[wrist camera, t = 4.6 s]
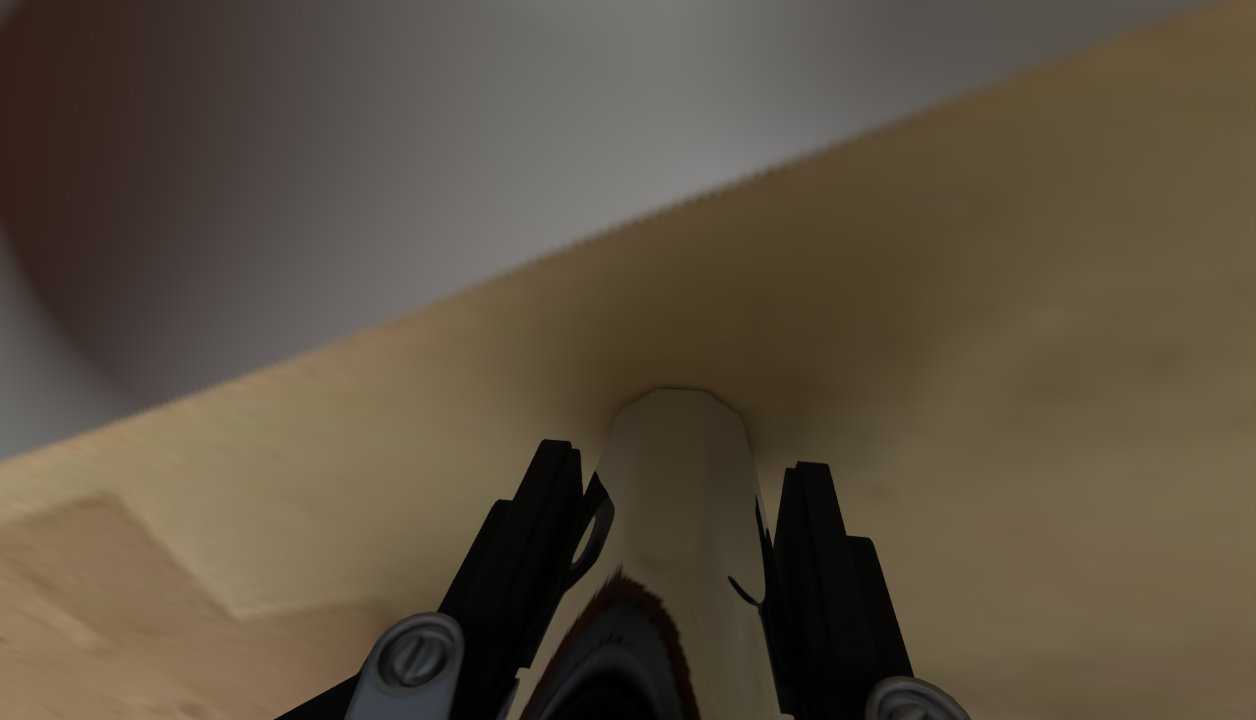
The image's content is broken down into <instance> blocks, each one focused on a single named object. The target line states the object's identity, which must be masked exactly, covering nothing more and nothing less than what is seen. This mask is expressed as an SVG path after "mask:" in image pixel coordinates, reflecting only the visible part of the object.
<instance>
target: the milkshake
mask: <svg viewBox="0 0 1256 720" xmlns="http://www.w3.org/2000/svg"><path fill="white" fill-rule="evenodd" d="M481 720H813V717H812V712H811V708H810V704H809V700H808V696H807V692H806V688H805V685H804V681H803V677H802V673H801V670H800V666H799V663H798V660H797V657H796V654H795V651H794V647H793V643H792V638H791V634H790V629H789V625H788V620H787V615H786V611H785V606H784V601H783V596H782V591H781V586H780V582H779V577H778V572H777V567H776V562H775V557H774V552H773V548H772V543H771V538H770V533H769V528H768V523H767V518H766V513H765V509H764V504H763V499H762V494H761V489H760V484H759V479H758V474H757V469H756V465H755V460H754V456H753V453H752V449H751V446H750V443H749V440H748V436H747V433H746V430H745V426H744V423H743V420H742V417H741V416H740V415H738V414H737V413H735V412H734V411H733V410H731V409H730V408H728V407H727V406H725V405H724V404H722V403H721V402H719V401H718V400H717V399H715V398H714V397H712V396H711V395H709V394H708V393H706V392H705V391H694V390H674V389H656V390H654V391H652V392H651V393H649V394H647V395H645V396H644V397H642V398H640V399H639V400H637V401H635V402H633V403H631V404H630V405H628V406H626V407H624V408H623V409H621V410H620V412H619V414H618V416H617V418H616V420H615V423H614V425H613V428H612V430H611V432H610V435H609V437H608V440H607V442H606V444H605V447H604V449H603V452H602V454H601V456H600V459H599V461H598V463H597V466H596V468H595V471H594V473H593V475H592V478H591V480H590V483H589V485H588V487H587V490H586V492H585V495H584V497H583V499H582V502H581V504H580V506H579V509H578V511H577V514H576V516H575V518H574V521H573V523H572V525H571V528H570V530H569V533H568V535H567V537H566V540H565V542H564V544H563V547H562V549H561V551H560V554H559V556H558V558H557V561H556V563H555V565H554V567H553V570H552V572H551V574H550V576H549V579H548V581H547V583H546V585H545V587H544V589H543V591H542V593H541V595H540V597H539V600H538V602H537V604H536V606H535V608H534V610H533V612H532V614H531V616H530V618H529V620H528V622H527V624H526V626H525V628H524V630H523V632H522V634H521V636H520V638H519V640H518V642H517V645H516V647H515V649H514V651H513V653H512V655H511V657H510V659H509V662H508V664H507V666H506V668H505V670H504V672H503V674H502V676H501V679H500V681H499V683H498V685H497V687H496V689H495V691H494V694H493V696H492V698H491V700H490V702H489V704H488V706H487V709H486V711H485V713H484V715H483V717H482V719H481Z"/></svg>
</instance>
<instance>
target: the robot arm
mask: <svg viewBox="0 0 1256 720" xmlns="http://www.w3.org/2000/svg"><path fill="white" fill-rule="evenodd" d="M582 499H583V485H582V470H581V455H580V450H579V449H572V445H571V442H569V441H559V440H547V439H544V440H542V442H541V443H540V445H539V447H538V449H537V451H536V453H535V456H534V458H533V460H532V462H531V464H530V466H529V468H528V470H527V472H526V474H525V476H524V478H523V480H522V482H521V484H520V486H519V488H518V490H517V493H516V495H515V497H514V499H513V501H511V500H501V499H499V500H498V501H496V502H495V504H494V505H493V507H492V508H491V510H490V512H489V514H488V516H487V518H486V520H485V521H484V523H483V525H482V527H481V529H480V531H479V533H478V535H477V537H476V539H475V540H474V542H473V544H472V546H471V548H470V550H469V552H468V554H467V556H466V558H465V559H464V561H463V563H462V565H461V567H460V569H459V571H458V573H457V575H456V577H455V578H454V580H453V582H452V584H451V586H450V588H449V590H448V592H447V594H446V596H445V598H444V599H443V601H442V603H441V605H440V607H439V609H438V611H437V612H425V613H419V614H414V615H412V616H410V617H407V618H405V619H403V620H401V621H399V622H398V623H396V624H395V625H393V626H392V627H390V628H389V629H388V630H387V631H386V632H385V633H384V634H383V635H382V636H381V637H380V638H379V639H378V640H377V642H376V644H375V645H374V647H373V649H372V651H371V653H370V654H369V657H368V659H367V662H366V664H365V667H364V669H363V671H362V672H360V673H358V674H357V675H355V676H353V677H351V678H349V679H347V680H346V681H344V682H342V683H340V684H338V685H336V686H335V687H333V688H331V689H329V690H327V691H325V692H324V693H322V694H320V695H318V696H316V697H314V698H313V699H311V700H309V701H307V702H305V703H303V704H302V705H300V706H298V707H296V708H294V709H293V710H291V711H289V712H287V713H285V714H283V715H282V716H280V717H278V718H276V719H274V720H481V719H482V717H483V715H484V713H485V711H486V709H487V706H488V704H489V702H490V700H491V698H492V696H493V694H494V691H495V689H496V687H497V685H498V683H499V681H500V679H501V676H502V674H503V672H504V670H505V668H506V666H507V664H508V662H509V659H510V657H511V655H512V653H513V651H514V649H515V647H516V645H517V642H518V640H519V638H520V636H521V634H522V632H523V630H524V628H525V626H526V624H527V622H528V620H529V618H530V616H531V614H532V612H533V610H534V608H535V606H536V604H537V602H538V600H539V597H540V595H541V593H542V591H543V589H544V587H545V585H546V583H547V581H548V579H549V576H550V574H551V572H552V570H553V567H554V565H555V563H556V561H557V558H558V556H559V554H560V551H561V549H562V547H563V544H564V542H565V540H566V537H567V535H568V533H569V530H570V528H571V525H572V523H573V521H574V518H575V516H576V514H577V511H578V509H579V506H580V504H581V502H582ZM773 552H774V557H775V562H776V567H777V572H778V577H779V582H780V586H781V591H782V596H783V601H784V606H785V611H786V615H787V620H788V625H789V629H790V634H791V638H792V643H793V647H794V651H795V654H796V657H797V660H798V663H799V666H800V670H801V673H802V677H803V681H804V685H805V688H806V692H807V696H808V700H809V704H810V708H811V712H812V717H813V720H971V719H970V717H969V715H968V714H967V712H966V711H965V710H964V709H963V708H962V707H961V706H960V705H959V704H958V703H957V702H956V701H955V700H954V699H953V698H952V697H951V696H949V695H948V694H947V693H945V692H944V691H942V690H941V689H939V688H938V687H936V686H935V685H933V684H930V683H928V682H926V681H923V680H921V679H918V678H914V674H913V671H912V668H911V664H910V661H909V658H908V655H907V651H906V648H905V645H904V641H903V638H902V635H901V632H900V628H899V625H898V622H897V619H896V615H895V612H894V609H893V605H892V602H891V599H890V596H889V592H888V589H887V586H886V583H885V579H884V576H883V573H882V569H881V566H880V563H879V560H878V556H877V553H876V550H875V547H874V545H873V542H872V541H871V539H870V538H867V537H858V536H848V535H846V531H845V527H844V524H843V520H842V516H841V512H840V508H839V504H838V500H837V496H836V492H835V488H834V484H833V480H832V476H831V472H830V468H829V466H828V464H824V463H813V462H801V461H798V462H797V464H796V468H786V470H785V476H784V482H783V488H782V495H781V501H780V507H779V514H778V520H777V527H776V533H775V539H774V546H773Z"/></svg>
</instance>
